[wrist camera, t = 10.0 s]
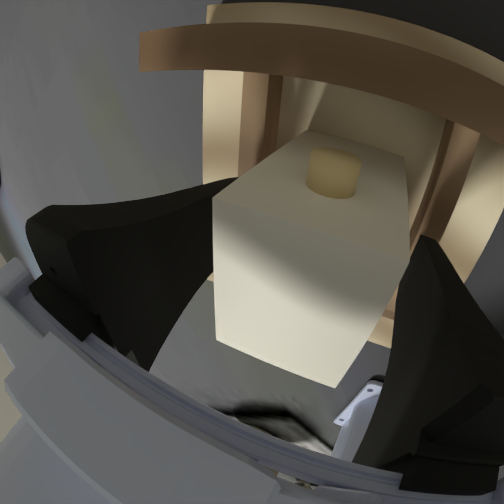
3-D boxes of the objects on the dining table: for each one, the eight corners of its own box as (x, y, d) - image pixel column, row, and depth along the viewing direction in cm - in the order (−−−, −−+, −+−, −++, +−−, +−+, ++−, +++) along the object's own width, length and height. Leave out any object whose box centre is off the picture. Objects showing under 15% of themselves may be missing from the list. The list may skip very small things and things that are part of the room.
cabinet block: (370, 257, 13) (335, 388, 8) (291, 230, 14) (216, 340, 9) (408, 138, 9) (426, 225, 4) (310, 111, 10) (212, 161, 5)
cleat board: (413, 342, 16) (403, 412, 12) (214, 270, 20) (170, 320, 16) (530, 82, 6) (593, 97, 2) (219, 8, 10) (141, -5, 6)
